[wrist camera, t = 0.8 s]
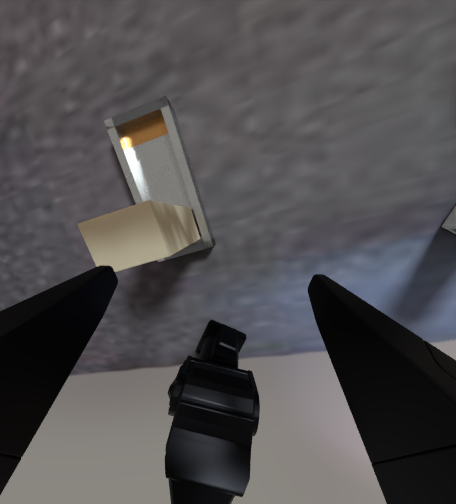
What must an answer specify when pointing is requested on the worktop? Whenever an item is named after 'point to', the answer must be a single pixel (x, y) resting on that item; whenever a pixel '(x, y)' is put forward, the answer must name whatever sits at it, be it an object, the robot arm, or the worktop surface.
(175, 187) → the fader track
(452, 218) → the syrup box
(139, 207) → the lever
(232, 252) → the worktop surface
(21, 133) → the worktop surface
